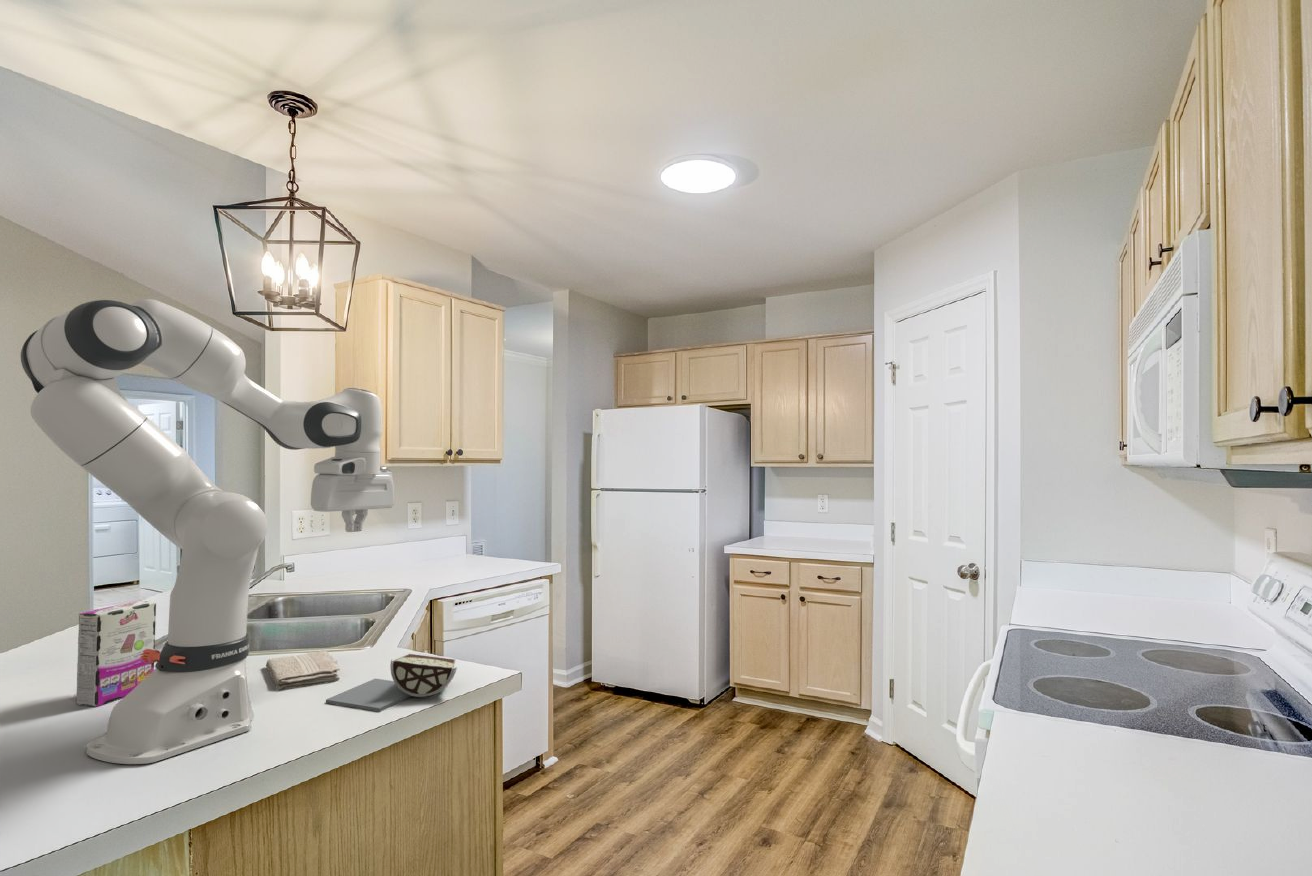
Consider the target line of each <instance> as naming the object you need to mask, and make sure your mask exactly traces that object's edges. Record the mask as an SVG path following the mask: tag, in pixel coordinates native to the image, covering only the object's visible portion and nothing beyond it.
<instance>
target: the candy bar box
mask: <svg viewBox="0 0 1312 876" xmlns="http://www.w3.org/2000/svg"><path fill="white" fill-rule="evenodd" d="M156 610H157V602H155V601H145V600H136V601H131V602H126V603H122V604H116V605H113V606H109V607H108V606H107V607H104V608H103V607H102V608H100V609H99V608H98V609H94V610H90V611H86V612H80V613H79V614H78V637H77V638H78V640H77V664H76V665H77V668H76V669H77V670H76V671H77V672H76V694H75V695H76V696H75V697H76V698H75V701H76V702H75V704H76V705H78V704H80V705H79V706H85V705H86V706H87V707H94V708H95V707H100V706H102V705H106V704H110V703H112V702H114V700H115V701H117V700H116V699H118V700H121V699H123V698H124V697H125V696H126V695H127V694H128V693H130V692H131V691H132V690H133V689H134V688H135V687H136V686H137V685H139V684H140V683H141V682H142V681H143V680H144V679H145V678H146V677H147V676H148V675H149V674H151V673H152V672H153V671H154V670H155V663H150V662H143V661H144V660H141V659H142V658H140V656H143V655H141V654H142V653H145V652H143V651H144V650H146V649H152V650H156V649H155V646H156V645H155V643H156V642H155V641H156V617H157V616H156V615H157V611H156ZM86 706H85V707H86Z"/></svg>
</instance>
